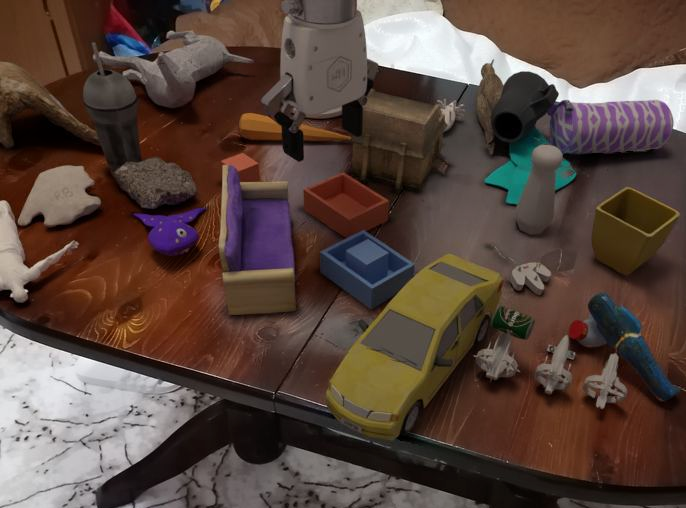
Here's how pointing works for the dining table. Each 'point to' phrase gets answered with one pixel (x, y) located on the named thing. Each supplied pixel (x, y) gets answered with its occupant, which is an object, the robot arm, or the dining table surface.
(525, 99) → the mug
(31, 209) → the decorative object
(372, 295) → the blue bin
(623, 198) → the flower pot
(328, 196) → the red bin
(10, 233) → the figurine
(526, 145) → the cloth
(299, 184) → the dining table surface
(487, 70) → the bird model
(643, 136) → the pencil case
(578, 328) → the red capped bottle
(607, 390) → the toy vehicles
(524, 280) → the game controller
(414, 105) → the wooden crate
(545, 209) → the salt shaker
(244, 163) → the red block
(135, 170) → the stone
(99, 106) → the beverage cup
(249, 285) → the toy sofa
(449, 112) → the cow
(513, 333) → the beer can
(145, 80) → the statue
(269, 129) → the carrot
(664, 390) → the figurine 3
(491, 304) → the toy car
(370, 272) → the blue block
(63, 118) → the rock
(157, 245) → the toy
